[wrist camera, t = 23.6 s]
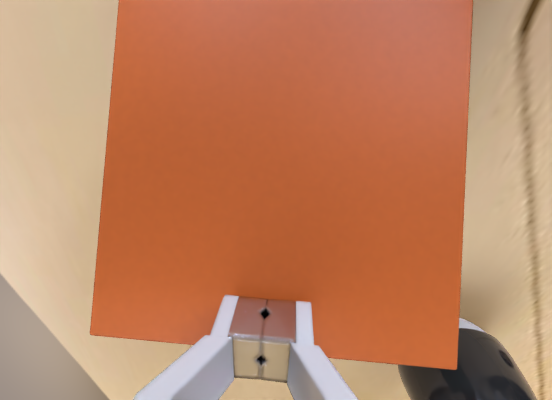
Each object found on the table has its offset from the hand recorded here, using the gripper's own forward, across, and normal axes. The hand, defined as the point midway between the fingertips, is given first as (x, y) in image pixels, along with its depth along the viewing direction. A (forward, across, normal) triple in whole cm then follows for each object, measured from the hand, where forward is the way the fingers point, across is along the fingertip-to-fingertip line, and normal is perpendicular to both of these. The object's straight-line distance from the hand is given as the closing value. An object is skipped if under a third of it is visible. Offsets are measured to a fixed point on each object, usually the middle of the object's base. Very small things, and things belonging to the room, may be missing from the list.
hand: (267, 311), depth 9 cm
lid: (+4, 0, -5) cm, 7 cm away
